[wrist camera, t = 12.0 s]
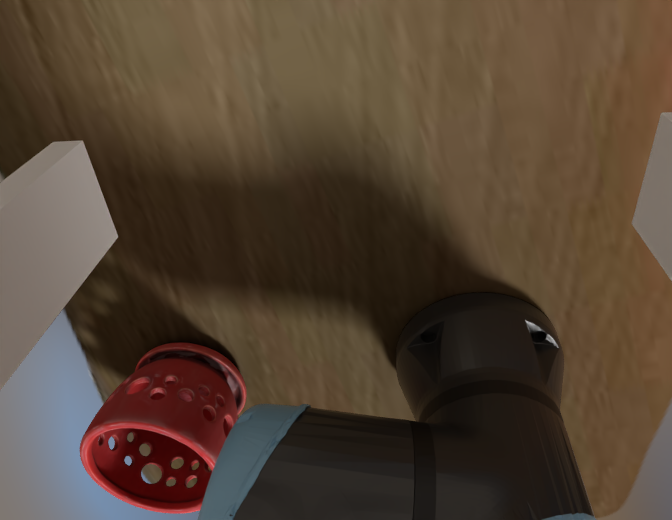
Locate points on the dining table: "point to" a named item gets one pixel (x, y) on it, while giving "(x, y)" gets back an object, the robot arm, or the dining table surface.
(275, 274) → the dining table surface
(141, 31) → the dining table surface
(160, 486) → the plant pot
